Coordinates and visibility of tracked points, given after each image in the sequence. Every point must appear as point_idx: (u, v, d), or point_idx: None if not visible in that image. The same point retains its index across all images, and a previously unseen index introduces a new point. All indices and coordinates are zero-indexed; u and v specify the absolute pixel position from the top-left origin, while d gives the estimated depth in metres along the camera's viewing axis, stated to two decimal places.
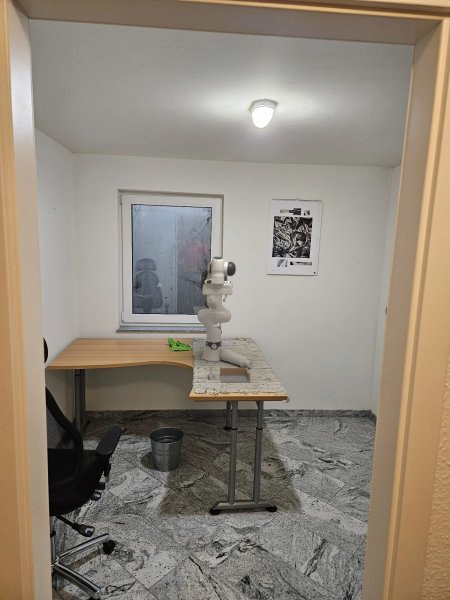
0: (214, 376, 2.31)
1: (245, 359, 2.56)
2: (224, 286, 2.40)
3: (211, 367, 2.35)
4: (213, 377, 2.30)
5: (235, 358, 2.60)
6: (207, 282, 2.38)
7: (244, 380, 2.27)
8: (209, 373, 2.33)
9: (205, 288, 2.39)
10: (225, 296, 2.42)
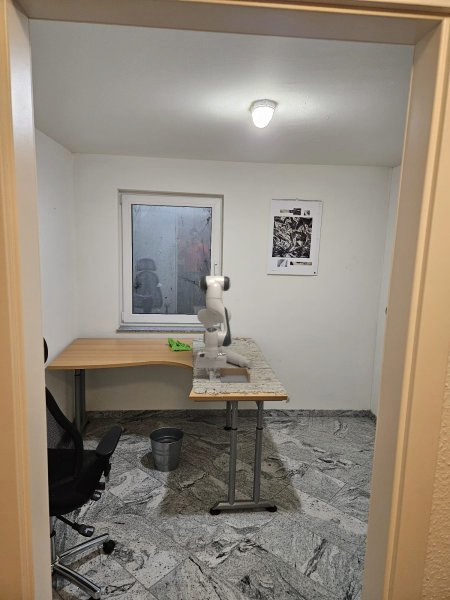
0: (214, 376, 2.31)
1: (245, 359, 2.56)
2: (218, 359, 2.30)
3: None
4: (213, 377, 2.30)
5: (235, 358, 2.60)
6: (200, 356, 2.27)
7: (244, 380, 2.27)
8: None
9: (198, 361, 2.29)
10: (214, 369, 2.31)
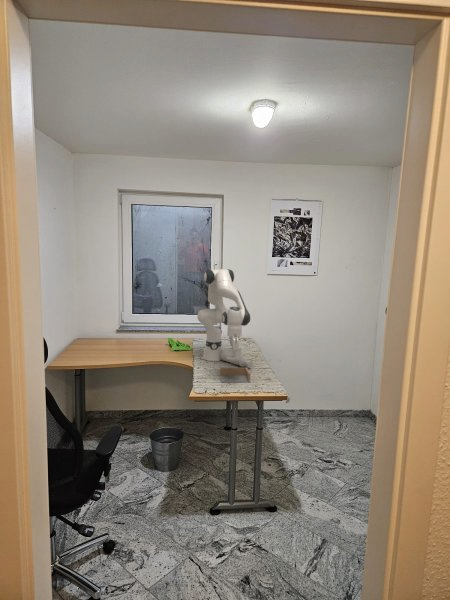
0: (232, 357, 2.26)
1: (245, 359, 2.56)
2: (232, 340, 2.22)
3: (239, 348, 2.27)
4: (230, 356, 2.26)
5: None
6: None
7: (244, 380, 2.27)
8: None
9: (229, 337, 2.35)
10: None
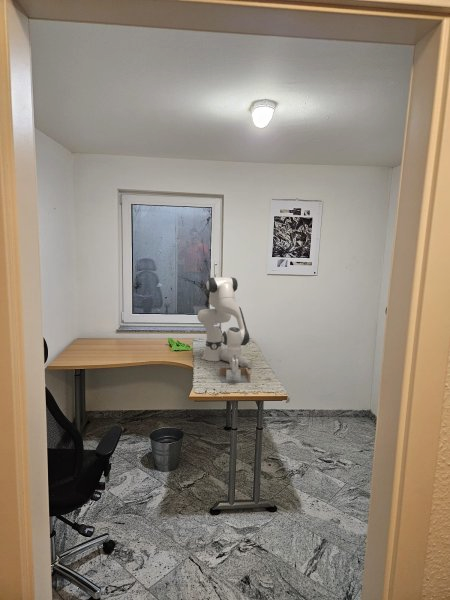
0: (231, 378, 2.27)
1: (245, 359, 2.56)
2: None
3: (239, 370, 2.29)
4: (230, 377, 2.28)
5: None
6: None
7: (244, 380, 2.27)
8: None
9: None
10: None
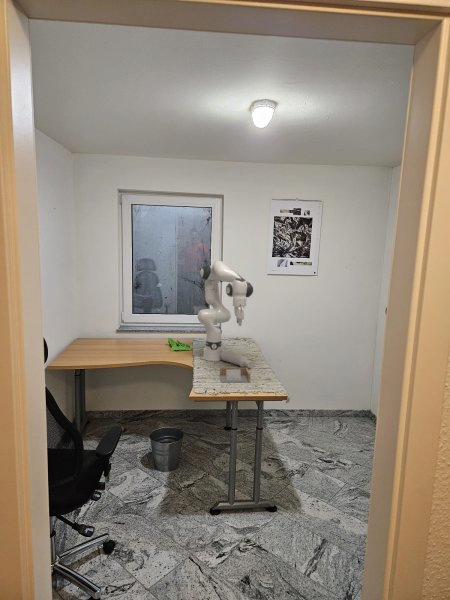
0: (231, 378, 2.27)
1: (245, 359, 2.56)
2: (237, 309, 2.30)
3: (239, 370, 2.29)
4: (230, 377, 2.28)
5: (235, 358, 2.60)
6: None
7: (244, 380, 2.27)
8: None
9: (234, 309, 2.43)
10: (238, 320, 2.30)
